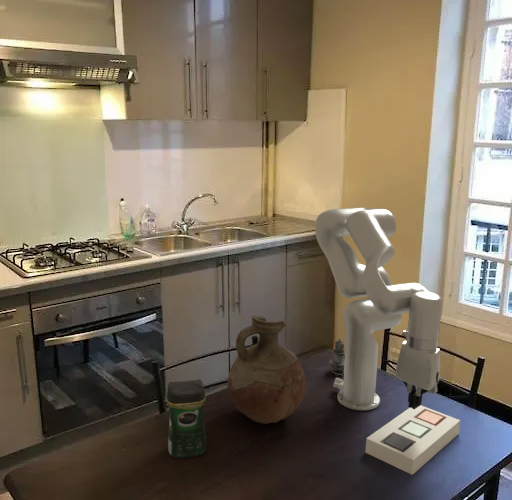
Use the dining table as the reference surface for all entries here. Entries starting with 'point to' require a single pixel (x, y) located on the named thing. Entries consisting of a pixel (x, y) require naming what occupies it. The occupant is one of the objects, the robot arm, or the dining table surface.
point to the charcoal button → (398, 443)
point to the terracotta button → (430, 418)
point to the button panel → (420, 448)
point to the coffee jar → (186, 418)
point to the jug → (265, 375)
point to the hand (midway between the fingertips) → (414, 406)
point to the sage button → (415, 430)
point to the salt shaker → (338, 358)
